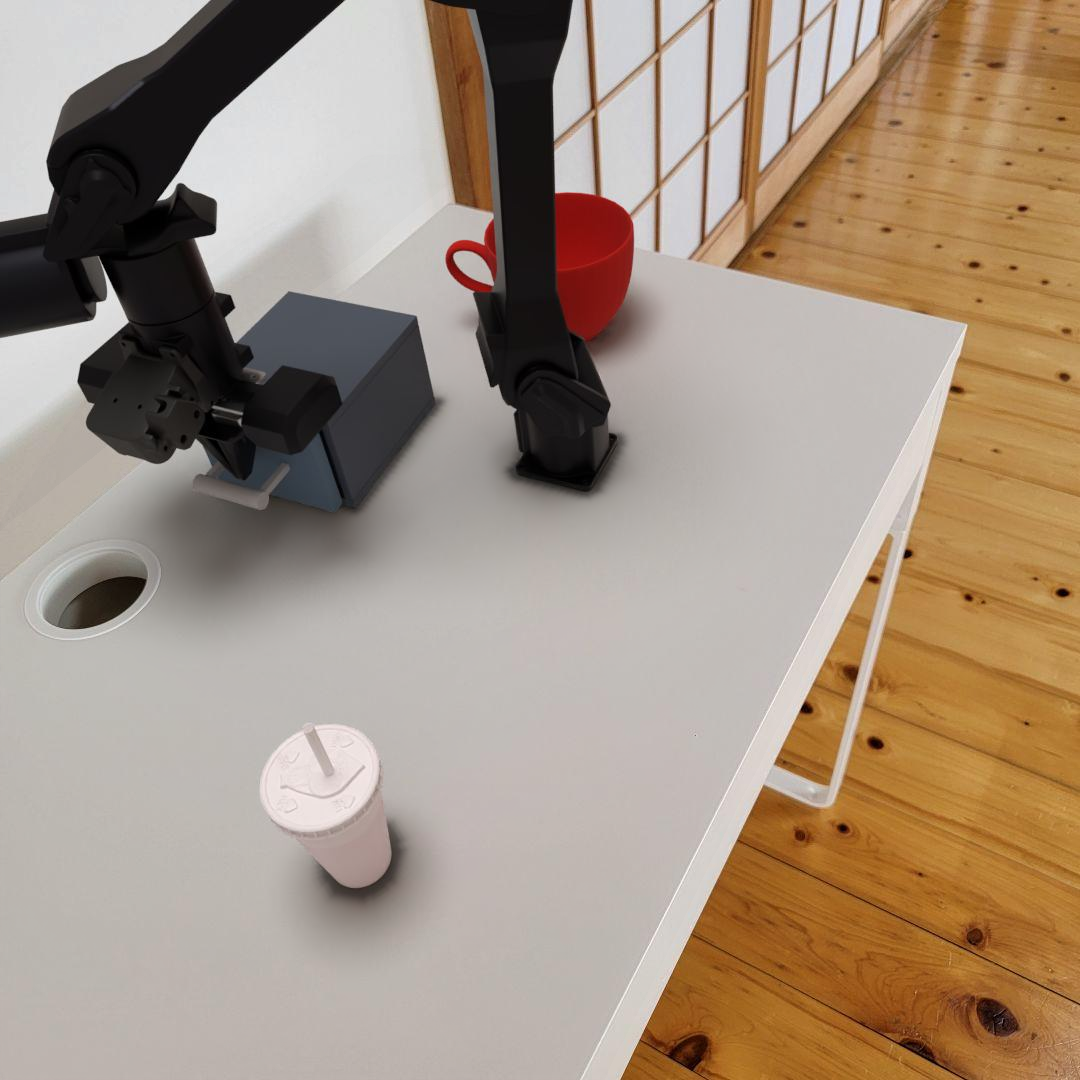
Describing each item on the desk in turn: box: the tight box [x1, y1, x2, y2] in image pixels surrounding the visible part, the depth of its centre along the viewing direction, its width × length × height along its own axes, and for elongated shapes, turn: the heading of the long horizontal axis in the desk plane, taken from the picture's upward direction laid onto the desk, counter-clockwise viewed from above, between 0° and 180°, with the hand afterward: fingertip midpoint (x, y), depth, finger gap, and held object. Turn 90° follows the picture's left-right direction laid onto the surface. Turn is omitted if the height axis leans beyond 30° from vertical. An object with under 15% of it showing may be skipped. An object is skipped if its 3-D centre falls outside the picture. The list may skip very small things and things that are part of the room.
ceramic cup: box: [444, 191, 635, 344], centre depth 90 cm, size 13×17×10 cm
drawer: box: [191, 429, 342, 513], centre depth 79 cm, size 17×11×7 cm
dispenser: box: [235, 290, 436, 509], centre depth 82 cm, size 14×13×9 cm
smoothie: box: [259, 722, 392, 889], centre depth 54 cm, size 6×6×14 cm
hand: (244, 476), depth 75 cm, fingers closed
